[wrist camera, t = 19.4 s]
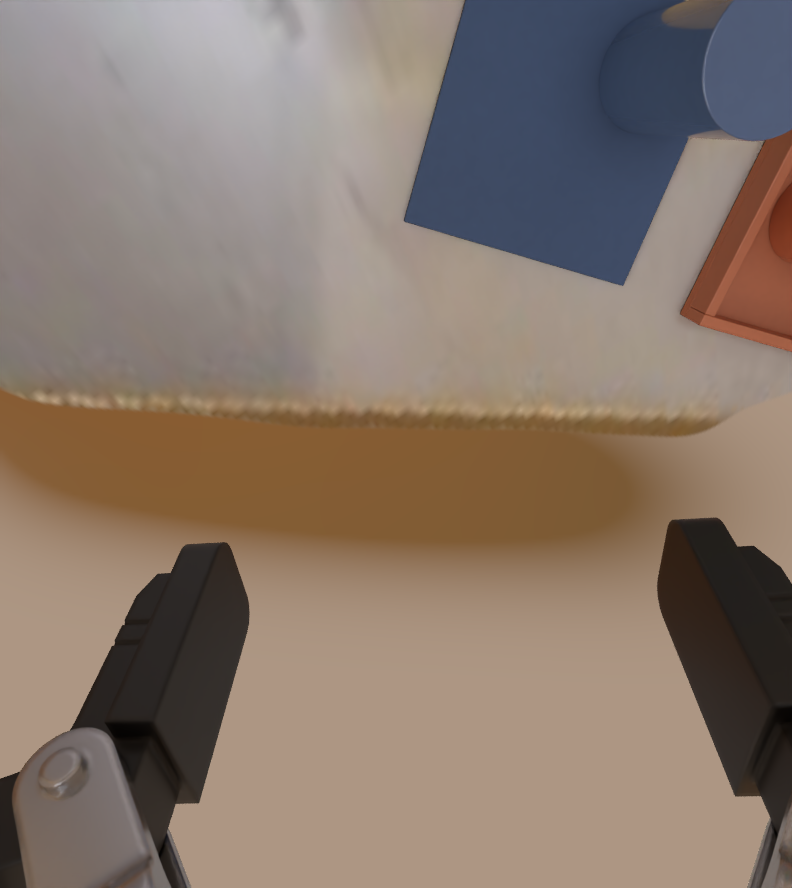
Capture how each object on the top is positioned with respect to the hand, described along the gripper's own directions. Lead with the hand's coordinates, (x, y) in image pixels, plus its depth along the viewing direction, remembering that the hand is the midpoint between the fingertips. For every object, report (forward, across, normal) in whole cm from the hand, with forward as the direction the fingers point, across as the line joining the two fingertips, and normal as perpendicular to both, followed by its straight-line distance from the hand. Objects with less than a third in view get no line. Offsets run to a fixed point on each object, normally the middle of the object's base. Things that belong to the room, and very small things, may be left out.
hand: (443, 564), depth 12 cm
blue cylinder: (+25, -10, -5) cm, 27 cm away
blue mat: (+24, -6, -4) cm, 25 cm away
